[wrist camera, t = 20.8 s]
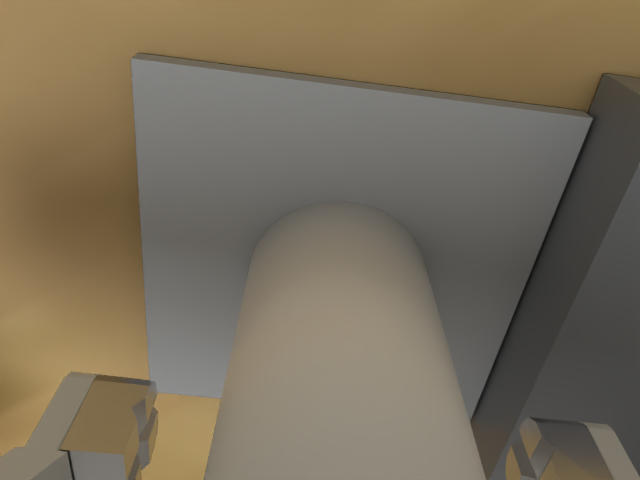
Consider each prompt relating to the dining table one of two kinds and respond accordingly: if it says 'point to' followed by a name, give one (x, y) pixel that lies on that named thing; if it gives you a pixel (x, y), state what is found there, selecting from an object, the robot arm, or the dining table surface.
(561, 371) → the stand
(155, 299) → the pad
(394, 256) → the plug
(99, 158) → the dining table surface
